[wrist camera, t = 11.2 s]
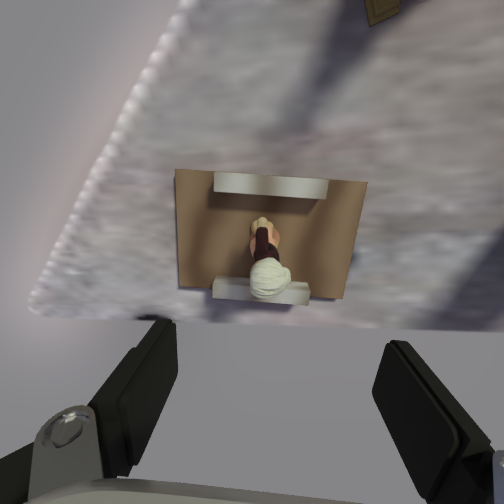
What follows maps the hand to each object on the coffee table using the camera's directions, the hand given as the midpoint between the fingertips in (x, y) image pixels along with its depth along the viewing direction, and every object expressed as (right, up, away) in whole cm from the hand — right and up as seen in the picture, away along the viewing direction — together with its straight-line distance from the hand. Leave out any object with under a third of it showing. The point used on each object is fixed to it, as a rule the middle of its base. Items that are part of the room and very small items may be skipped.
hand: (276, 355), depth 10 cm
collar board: (+1, +7, +20) cm, 21 cm away
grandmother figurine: (+1, +6, +19) cm, 20 cm away
